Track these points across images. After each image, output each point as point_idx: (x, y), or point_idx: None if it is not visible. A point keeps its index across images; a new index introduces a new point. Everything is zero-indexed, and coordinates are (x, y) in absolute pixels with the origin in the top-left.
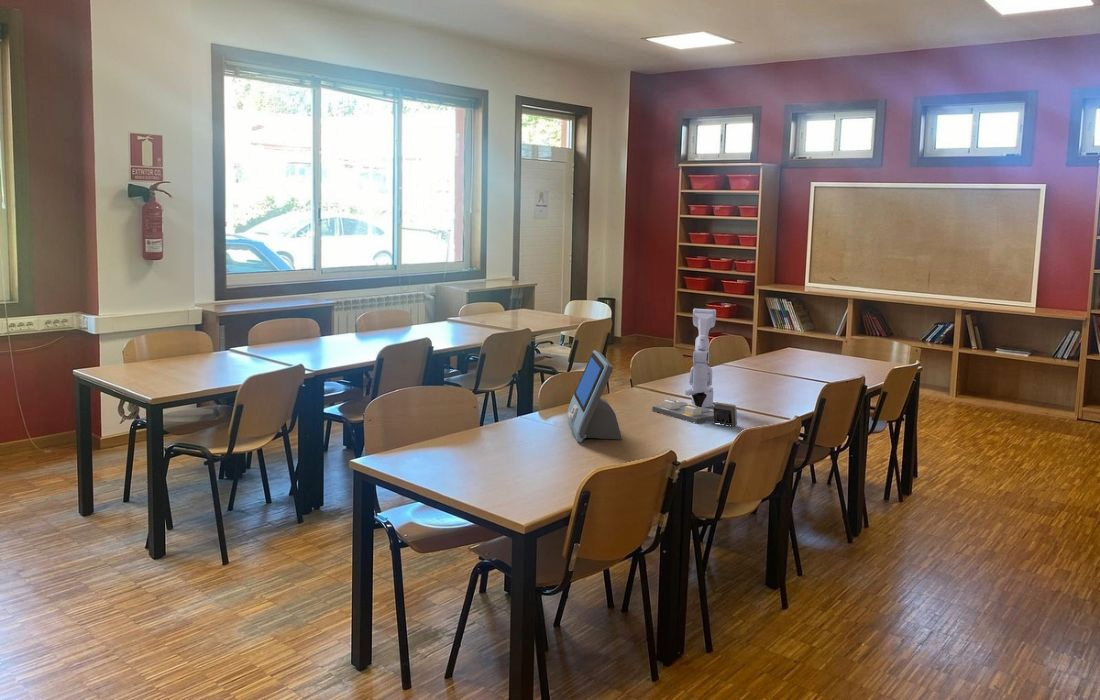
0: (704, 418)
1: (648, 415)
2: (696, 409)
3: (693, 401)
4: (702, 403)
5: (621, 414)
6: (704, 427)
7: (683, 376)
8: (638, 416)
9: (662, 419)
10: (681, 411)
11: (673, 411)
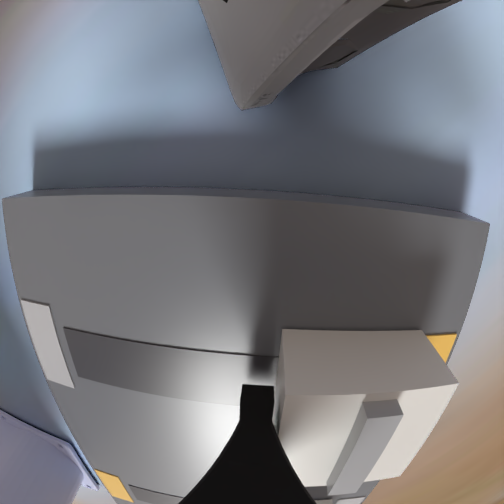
0: (369, 205)
1: (431, 476)
2: (399, 378)
3: (75, 487)
4: (229, 456)
5: (465, 490)
6: (496, 78)
7: None
8: (469, 468)
9: (477, 412)
10: None
11: None
